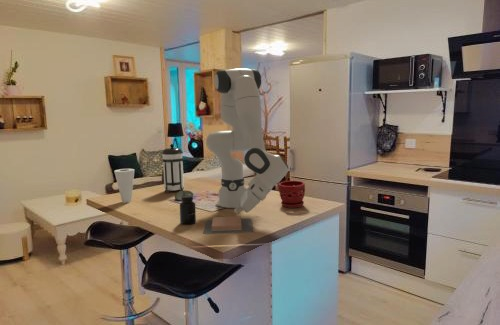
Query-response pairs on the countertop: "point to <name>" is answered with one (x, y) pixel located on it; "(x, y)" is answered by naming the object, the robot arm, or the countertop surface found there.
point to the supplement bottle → (187, 210)
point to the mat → (245, 225)
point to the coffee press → (173, 169)
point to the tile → (226, 223)
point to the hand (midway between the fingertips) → (235, 212)
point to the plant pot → (292, 193)
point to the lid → (182, 194)
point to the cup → (125, 183)
